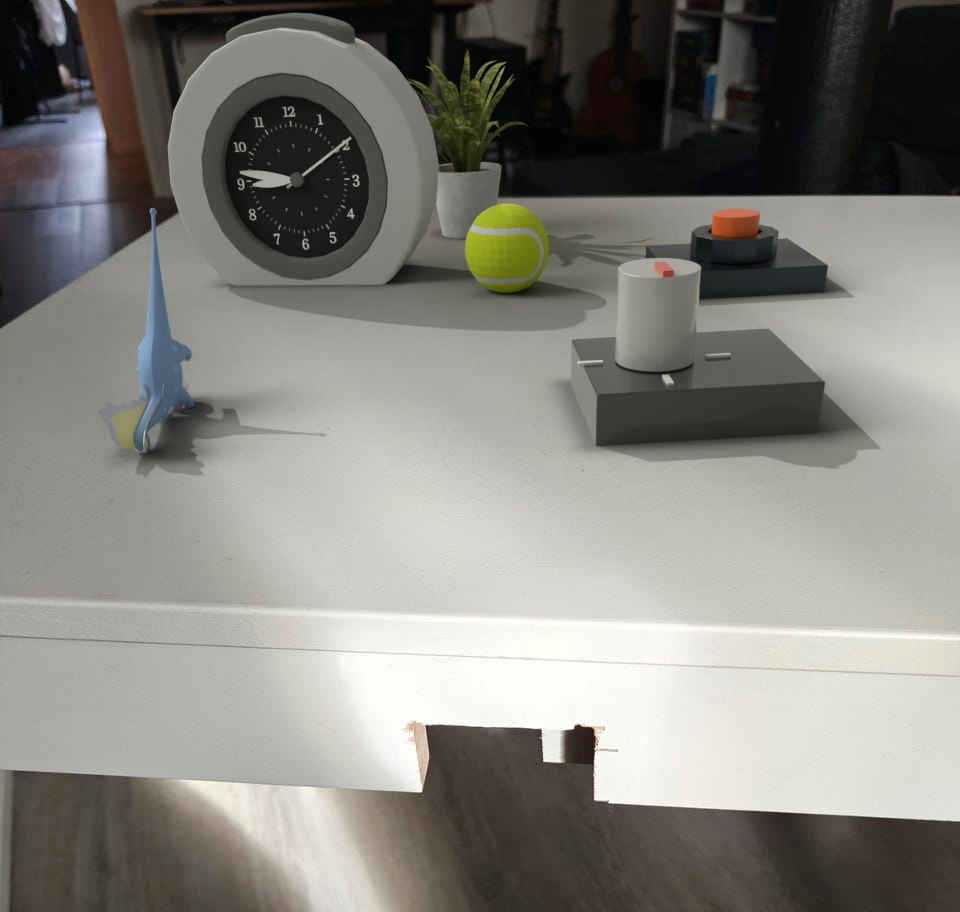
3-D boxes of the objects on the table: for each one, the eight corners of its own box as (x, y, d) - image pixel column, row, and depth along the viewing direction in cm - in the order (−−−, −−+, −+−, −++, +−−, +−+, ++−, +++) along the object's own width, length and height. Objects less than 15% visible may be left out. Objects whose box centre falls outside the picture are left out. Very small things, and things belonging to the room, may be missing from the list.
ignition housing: (784, 265, 87) (790, 215, 85) (824, 294, 78) (831, 240, 76) (644, 272, 87) (647, 222, 84) (669, 303, 78) (673, 248, 76)
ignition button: (750, 230, 82) (752, 207, 81) (763, 239, 79) (766, 215, 78) (706, 233, 82) (708, 209, 81) (717, 242, 79) (719, 218, 78)
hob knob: (608, 350, 59) (611, 254, 56) (684, 346, 59) (690, 250, 56) (622, 374, 55) (626, 273, 52) (703, 369, 55) (711, 268, 52)
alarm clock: (189, 287, 88) (138, 20, 78) (219, 267, 95) (176, 17, 84) (430, 286, 85) (412, 8, 75) (444, 265, 92) (430, 6, 81)
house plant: (441, 215, 112) (431, 43, 103) (558, 221, 106) (558, 40, 98) (374, 242, 101) (357, 53, 92) (500, 250, 96) (495, 50, 87)
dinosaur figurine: (158, 475, 63) (99, 447, 54) (148, 233, 63) (87, 162, 53) (205, 473, 63) (154, 445, 54) (195, 231, 63) (142, 159, 53)
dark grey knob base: (763, 376, 63) (769, 325, 61) (817, 436, 55) (826, 378, 53) (566, 387, 63) (566, 336, 61) (590, 449, 54) (591, 391, 53)
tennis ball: (485, 307, 79) (482, 215, 76) (454, 288, 85) (450, 201, 81) (562, 295, 81) (563, 205, 78) (528, 278, 87) (527, 193, 83)
